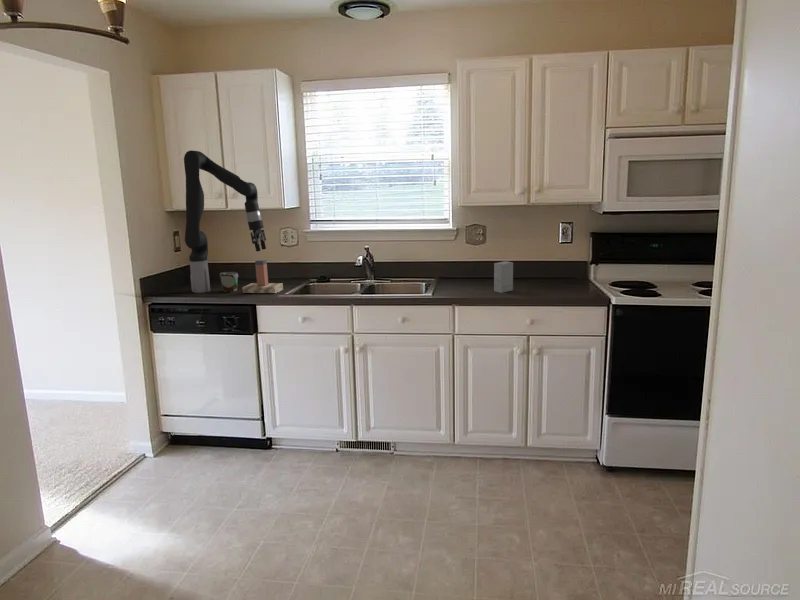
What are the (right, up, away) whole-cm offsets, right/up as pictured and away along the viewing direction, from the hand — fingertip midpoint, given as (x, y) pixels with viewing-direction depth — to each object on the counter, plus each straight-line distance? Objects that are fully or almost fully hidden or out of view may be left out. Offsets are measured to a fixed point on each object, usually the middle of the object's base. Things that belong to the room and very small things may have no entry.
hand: (261, 250), depth 301 cm
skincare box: (+127, -22, -14) cm, 130 cm away
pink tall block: (0, -22, +3) cm, 22 cm away
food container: (-18, -22, +9) cm, 29 cm away
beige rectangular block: (0, -22, +3) cm, 22 cm away
